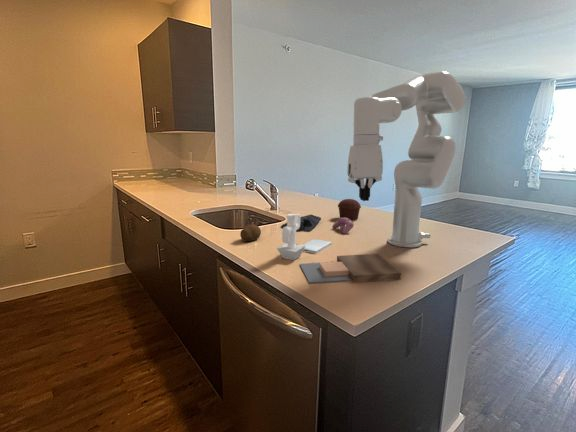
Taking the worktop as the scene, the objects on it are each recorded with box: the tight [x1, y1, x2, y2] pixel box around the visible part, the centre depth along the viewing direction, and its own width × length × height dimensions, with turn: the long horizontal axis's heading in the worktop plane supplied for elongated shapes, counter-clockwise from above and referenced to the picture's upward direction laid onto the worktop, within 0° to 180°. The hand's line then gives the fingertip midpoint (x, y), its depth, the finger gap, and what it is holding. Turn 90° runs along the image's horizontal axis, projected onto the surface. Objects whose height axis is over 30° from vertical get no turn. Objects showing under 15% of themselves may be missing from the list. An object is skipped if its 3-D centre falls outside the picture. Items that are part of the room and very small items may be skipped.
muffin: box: [337, 198, 362, 222], centre depth 163 cm, size 12×11×10 cm
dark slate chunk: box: [280, 214, 322, 232], centre depth 151 cm, size 15×22×5 cm
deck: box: [336, 253, 402, 283], centre depth 98 cm, size 14×16×2 cm
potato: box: [240, 224, 262, 242], centre depth 128 cm, size 7×10×6 cm
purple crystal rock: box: [331, 217, 355, 235], centre depth 141 cm, size 10×5×7 cm, turn 22°
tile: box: [319, 261, 349, 277], centre depth 96 cm, size 7×7×2 cm
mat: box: [299, 261, 352, 284], centre depth 96 cm, size 12×14×1 cm
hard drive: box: [302, 238, 333, 255], centre depth 120 cm, size 2×8×12 cm
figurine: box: [276, 213, 305, 261], centre depth 108 cm, size 7×9×15 cm
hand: (364, 199), depth 102 cm, fingers closed
